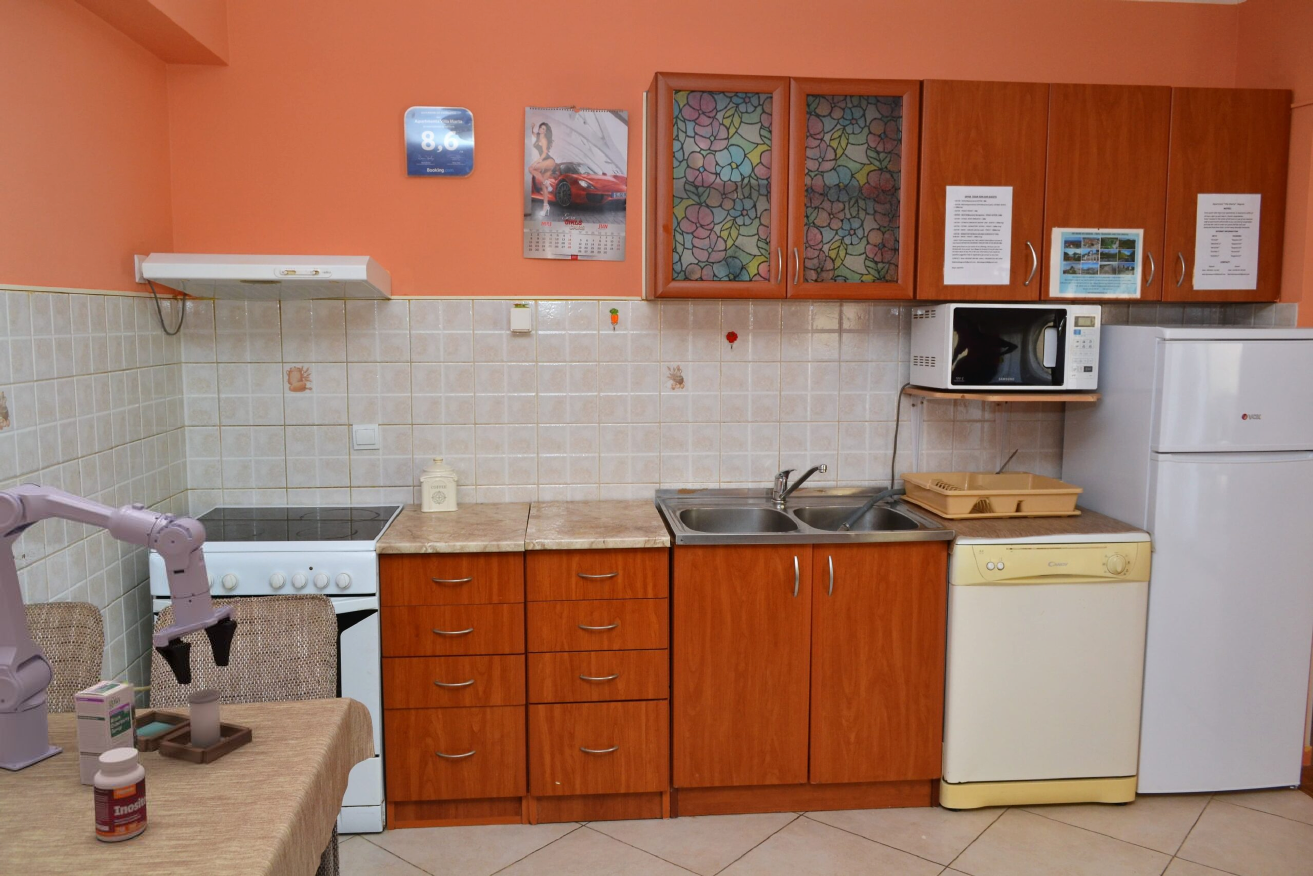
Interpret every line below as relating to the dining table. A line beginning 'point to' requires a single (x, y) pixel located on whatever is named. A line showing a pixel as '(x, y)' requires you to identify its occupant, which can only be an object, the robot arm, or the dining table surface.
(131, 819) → the pill bottle
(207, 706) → the tube
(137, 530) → the robot arm
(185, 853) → the dining table surface
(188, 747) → the brown flat frame
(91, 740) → the syrup box
